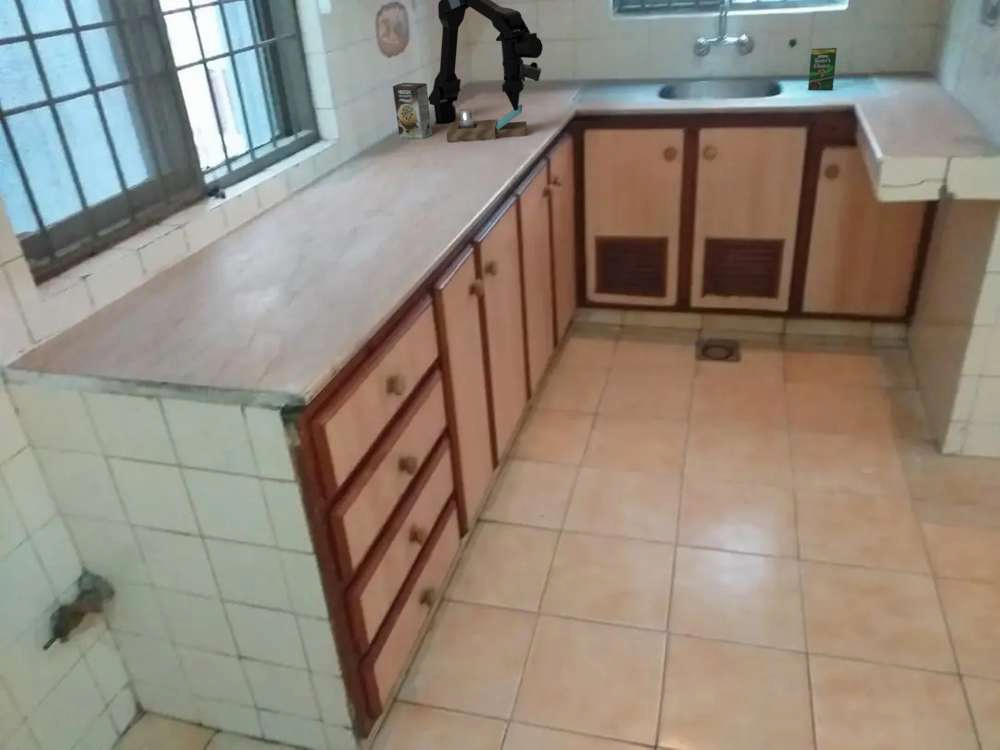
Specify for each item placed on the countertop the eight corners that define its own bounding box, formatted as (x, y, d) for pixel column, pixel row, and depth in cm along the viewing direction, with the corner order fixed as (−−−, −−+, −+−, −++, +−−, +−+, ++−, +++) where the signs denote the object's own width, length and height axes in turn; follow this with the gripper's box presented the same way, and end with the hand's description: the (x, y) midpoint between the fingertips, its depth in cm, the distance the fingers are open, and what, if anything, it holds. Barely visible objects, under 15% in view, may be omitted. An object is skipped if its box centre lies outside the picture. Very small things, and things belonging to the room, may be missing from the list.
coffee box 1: (398, 138, 262) (391, 86, 254) (409, 133, 267) (402, 82, 259) (422, 139, 258) (415, 86, 250) (433, 134, 263) (427, 82, 255)
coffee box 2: (806, 90, 276) (810, 49, 270) (808, 88, 278) (812, 47, 272) (831, 90, 273) (836, 49, 266) (833, 88, 275) (837, 47, 268)
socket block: (447, 142, 252) (446, 132, 250) (452, 131, 264) (451, 122, 262) (525, 137, 250) (525, 127, 248) (526, 126, 262) (526, 117, 260)
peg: (462, 137, 256) (459, 111, 252) (463, 134, 259) (460, 109, 255) (474, 137, 255) (472, 110, 251) (475, 133, 259) (473, 108, 255)
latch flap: (497, 130, 251) (496, 127, 251) (499, 122, 260) (498, 120, 259) (521, 112, 248) (520, 110, 248) (522, 105, 257) (521, 103, 256)
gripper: (538, 59, 236) (541, 114, 244) (539, 50, 252) (542, 102, 260) (499, 62, 237) (504, 117, 245) (503, 53, 253) (507, 104, 261)
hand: (516, 110), depth 252 cm, fingers closed, pressing on latch flap
